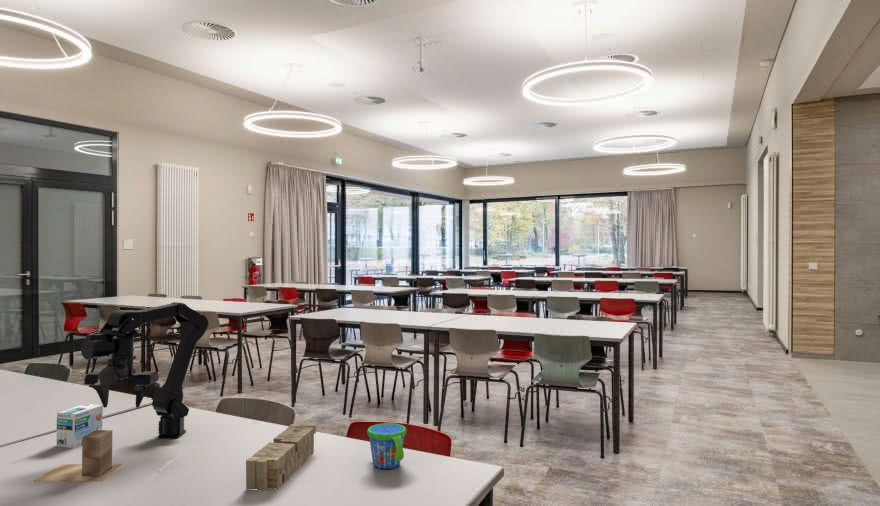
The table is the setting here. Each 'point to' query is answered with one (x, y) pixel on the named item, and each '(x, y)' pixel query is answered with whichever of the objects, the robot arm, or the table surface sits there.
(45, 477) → the board
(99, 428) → the light bulb box
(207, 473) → the table surface
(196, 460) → the table surface
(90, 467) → the block
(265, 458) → the block tower
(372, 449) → the snack cup
